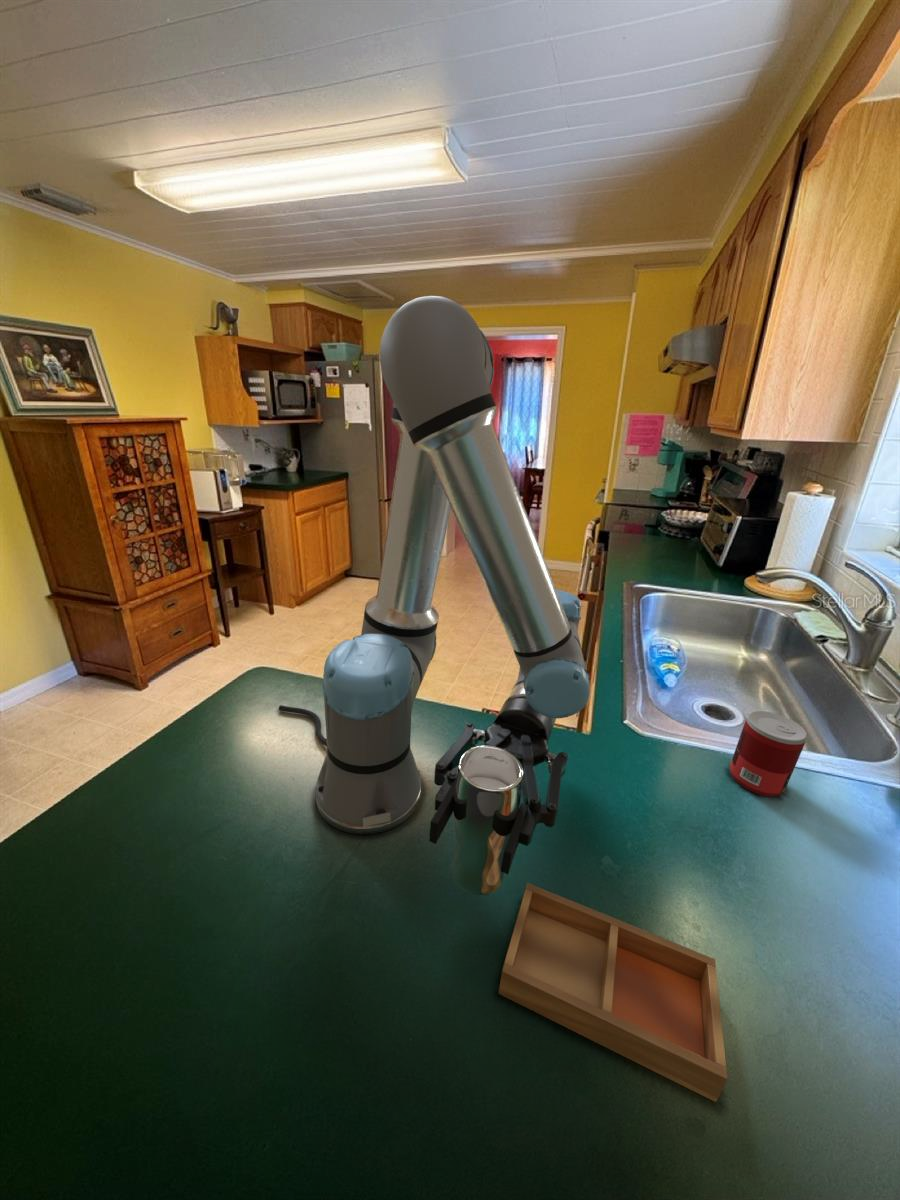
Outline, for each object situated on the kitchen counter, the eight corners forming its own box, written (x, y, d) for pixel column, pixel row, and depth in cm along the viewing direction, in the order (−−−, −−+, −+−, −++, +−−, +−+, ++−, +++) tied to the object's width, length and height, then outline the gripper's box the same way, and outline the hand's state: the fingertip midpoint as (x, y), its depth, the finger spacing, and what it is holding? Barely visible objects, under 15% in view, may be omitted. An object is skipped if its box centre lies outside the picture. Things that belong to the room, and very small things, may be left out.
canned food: (793, 802, 73) (818, 745, 69) (737, 792, 74) (758, 735, 70) (772, 768, 80) (793, 715, 76) (721, 760, 81) (740, 706, 77)
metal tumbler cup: (489, 913, 49) (507, 803, 43) (434, 877, 52) (443, 771, 47) (517, 864, 55) (535, 761, 49) (465, 835, 58) (477, 735, 52)
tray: (716, 1102, 40) (728, 1079, 39) (498, 993, 47) (501, 971, 45) (705, 981, 49) (715, 958, 47) (523, 904, 55) (527, 882, 54)
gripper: (593, 764, 64) (564, 917, 44) (458, 721, 70) (379, 837, 50) (604, 718, 61) (578, 859, 41) (462, 678, 68) (380, 783, 48)
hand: (468, 847), depth 46 cm, fingers closed on metal tumbler cup, 7 cm apart
